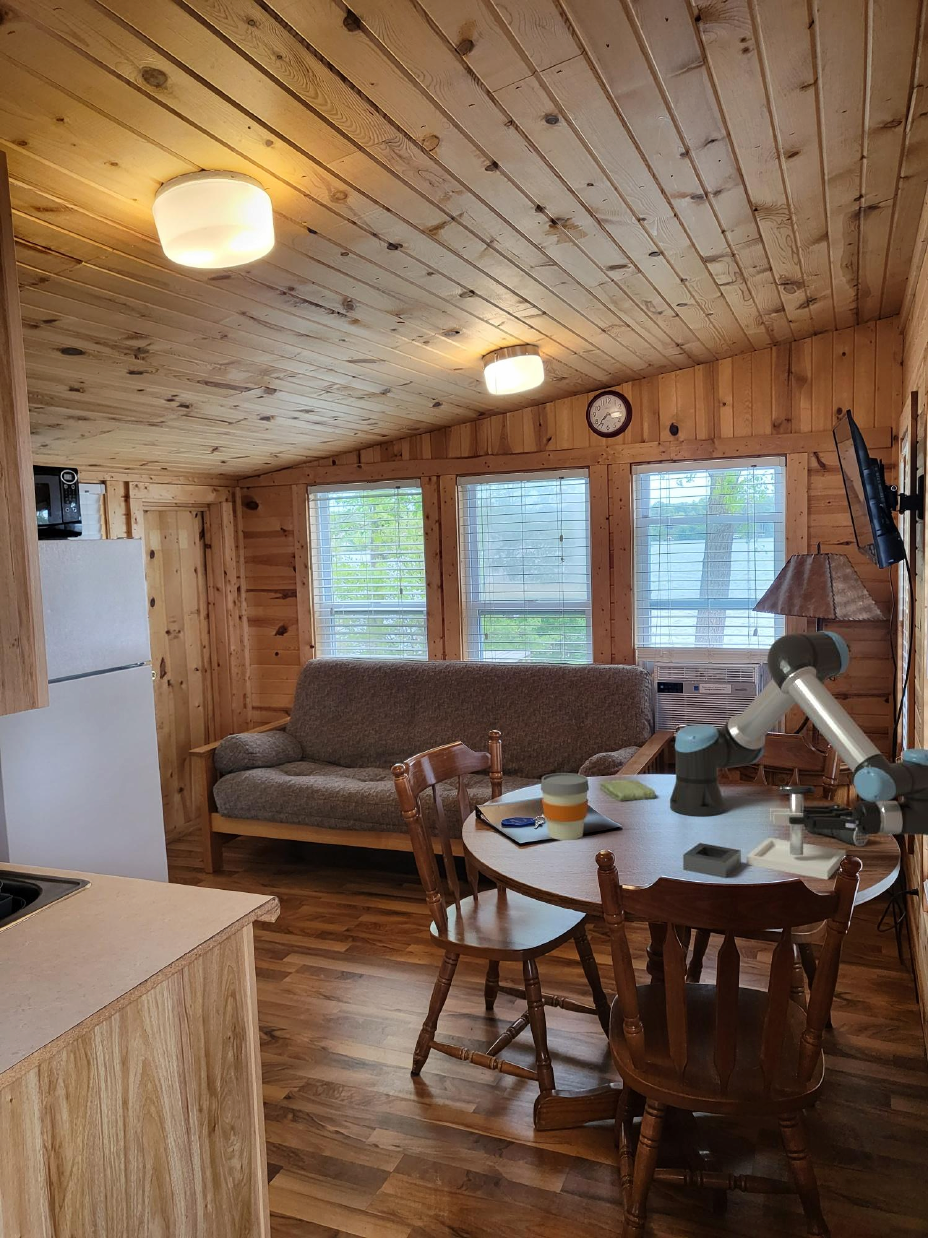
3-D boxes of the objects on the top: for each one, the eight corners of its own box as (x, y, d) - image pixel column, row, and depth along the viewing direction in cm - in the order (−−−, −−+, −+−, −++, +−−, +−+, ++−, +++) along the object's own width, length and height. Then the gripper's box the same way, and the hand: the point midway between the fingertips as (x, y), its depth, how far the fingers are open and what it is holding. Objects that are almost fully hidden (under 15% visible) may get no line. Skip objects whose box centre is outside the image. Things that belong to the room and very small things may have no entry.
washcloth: (636, 786, 279) (636, 776, 278) (658, 800, 261) (658, 789, 261) (597, 789, 276) (596, 779, 276) (616, 803, 259) (616, 793, 259)
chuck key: (780, 855, 204) (779, 787, 203) (776, 851, 207) (776, 784, 206) (816, 855, 203) (816, 787, 202) (812, 851, 206) (812, 784, 205)
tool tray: (746, 864, 204) (746, 856, 204) (768, 845, 217) (768, 837, 217) (827, 879, 193) (827, 870, 193) (845, 858, 206) (845, 850, 206)
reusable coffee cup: (556, 845, 222) (555, 787, 221) (533, 831, 233) (532, 776, 232) (598, 837, 227) (597, 780, 226) (574, 824, 238) (573, 770, 237)
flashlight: (801, 833, 227) (801, 812, 226) (814, 829, 229) (814, 809, 229) (855, 848, 214) (855, 827, 213) (868, 844, 216) (868, 823, 216)
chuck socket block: (683, 869, 202) (683, 854, 202) (699, 857, 210) (699, 843, 210) (725, 878, 196) (725, 862, 196) (741, 865, 204) (740, 850, 204)
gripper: (889, 844, 195) (780, 843, 197) (865, 823, 210) (764, 822, 213) (889, 811, 194) (780, 811, 197) (865, 792, 210) (764, 792, 213)
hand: (772, 817), depth 205 cm, fingers closed on chuck key, 3 cm apart
